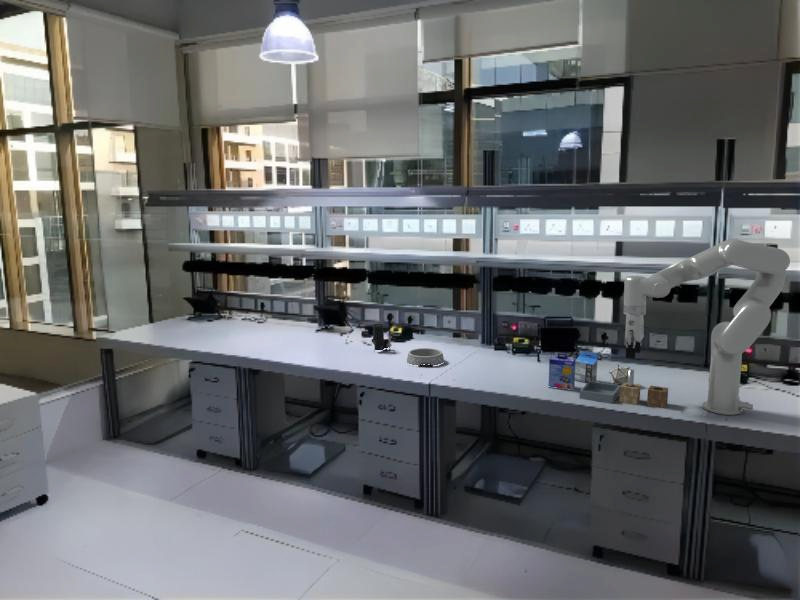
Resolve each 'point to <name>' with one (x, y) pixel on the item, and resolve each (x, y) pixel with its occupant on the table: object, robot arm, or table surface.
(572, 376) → the ink cartridge box
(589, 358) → the label tape box
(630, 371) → the pin gauge
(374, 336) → the scope
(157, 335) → the table surface
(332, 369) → the table surface
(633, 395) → the oak block
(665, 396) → the walnut block
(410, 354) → the dog bowl
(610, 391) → the tray
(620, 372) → the beige spiked polyhedron
